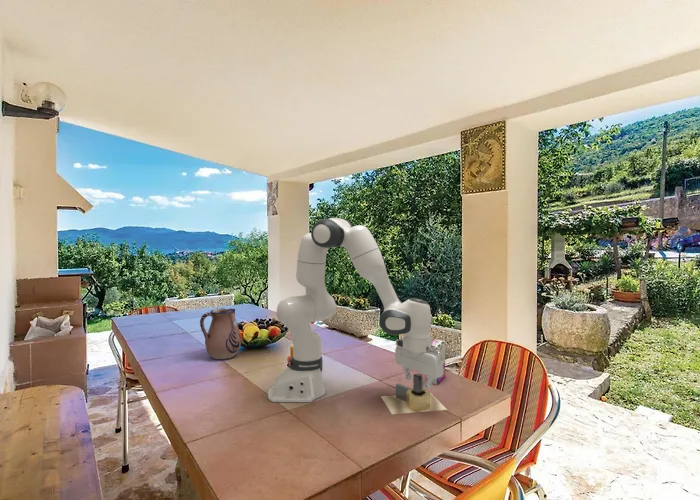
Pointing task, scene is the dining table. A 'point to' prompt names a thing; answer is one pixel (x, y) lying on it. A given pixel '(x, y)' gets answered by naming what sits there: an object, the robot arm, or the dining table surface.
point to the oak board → (401, 406)
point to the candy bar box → (440, 347)
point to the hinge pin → (418, 384)
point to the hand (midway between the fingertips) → (417, 382)
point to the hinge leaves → (413, 398)
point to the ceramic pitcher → (221, 333)
